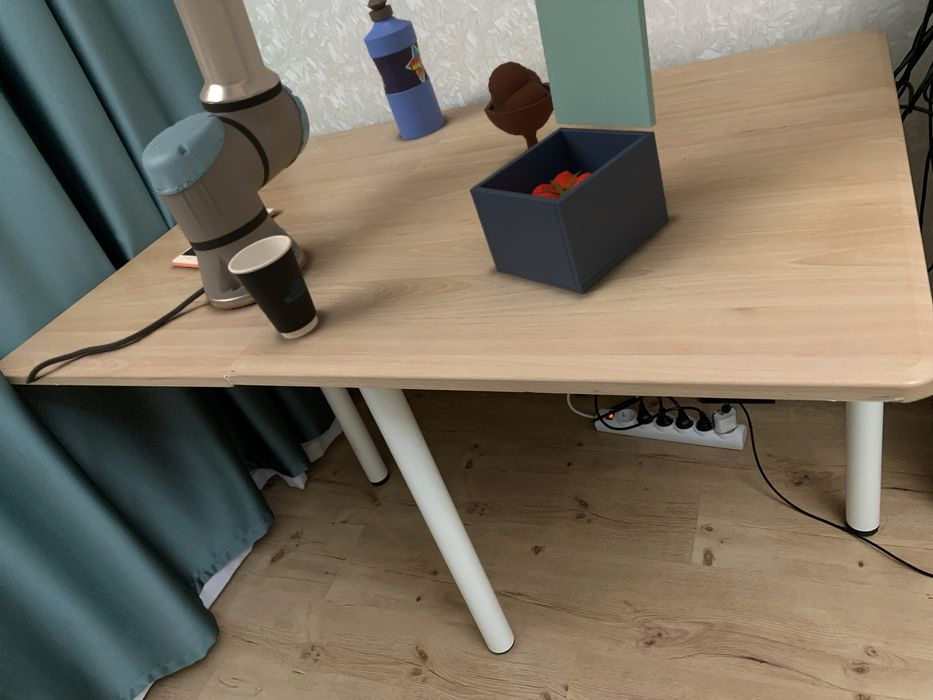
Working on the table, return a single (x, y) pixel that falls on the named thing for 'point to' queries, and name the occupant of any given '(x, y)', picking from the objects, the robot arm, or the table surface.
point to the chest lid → (598, 62)
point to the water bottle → (402, 72)
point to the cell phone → (190, 256)
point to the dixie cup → (276, 284)
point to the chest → (573, 206)
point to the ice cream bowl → (518, 101)
